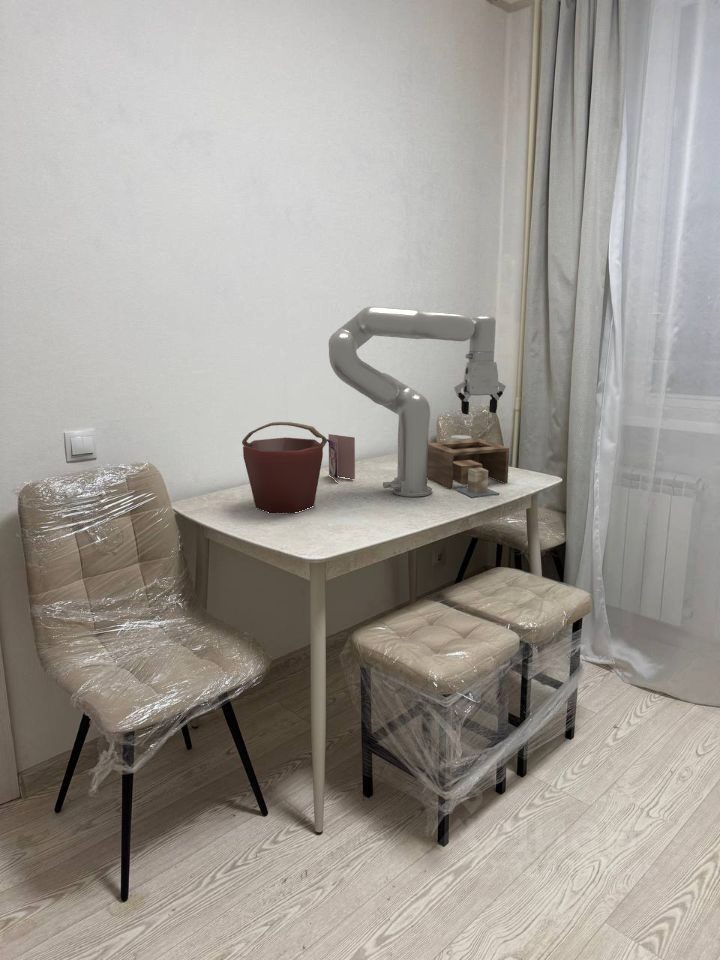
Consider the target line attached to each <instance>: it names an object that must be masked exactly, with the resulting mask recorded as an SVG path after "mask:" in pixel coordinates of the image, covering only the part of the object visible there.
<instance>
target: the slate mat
mask: <svg viewBox="0 0 720 960" xmlns="http://www.w3.org/2000/svg"><path fill="white" fill-rule="evenodd" d="M455 491H456V492H458V493H460V494H462V495H465V496H466V497H469V498H470V499H475V498H483V497H484V498H485V497H492V496H493V495H494V496H499V495H500V492H497V491H495V490H492V489H490V488H488V487H487V492H483V493H473V492H471V491H468V487H461V488H455Z"/></svg>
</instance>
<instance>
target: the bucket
mask: <svg viewBox="0 0 720 960" xmlns="http://www.w3.org/2000/svg"><path fill="white" fill-rule="evenodd" d="M272 426H274V427H275V426H290V427H296V428H299V429H302V430H303V429H304V430H308V431H309V432H310V433H311V434H312V435H313V436H314V437H315V438H318V439H321V442H318V441H317V440H316V439H313V438H311V439H310V438H299V437H298V438H296V437H287V436H286V437H276V438H266V439H265V438H264V439H255V440H253V441H251V442H248V440H249V438H251V436H252V435H254V434H255V433H257V432H259V431H260V430H263V429H266V428H269V427H272ZM328 440H329V439H328ZM328 440H327V438H326V436H324V435H323V434H321V432H319V431H318V430H317V429H316V428H315V427H314V426H312V425H308V424H303V423H297V422H291V421H274V422H271V423H270V422H269V423H268V424H264V425H262V426H260V427H257V428H255V429H254V430H251V431H250V432H248V434H247V435H246V436H244V438H243V439H242V440H241V444H242V446H243V447H242V454H243V461H244V465H245V468H246V473H247V476H248V481H249V484H250V488H251V493H252V497H253V500H254V505H255V509H256V508H259V509H261V510H260V511H262V510H264V511H263V512H265V511H267V512H269V513H268V514H270V513H288V514H296V513H295V512H299V511H302V510H305V509H307V508H310V507H312V506H314V507H315V503H316V502H315V501H316V496H317V491H318V485H319V478H320V473H321V470H322V463H323V457H324V452H323V451H324V450H323V449H324V447H325V446H326V444H328ZM259 509H258V510H259ZM310 509H311V508H310ZM305 511H306V510H305ZM267 512H266V513H267ZM302 512H303V511H302ZM299 513H300V512H299Z"/></svg>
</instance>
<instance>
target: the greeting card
mask: <svg viewBox="0 0 720 960" xmlns="http://www.w3.org/2000/svg"><path fill="white" fill-rule="evenodd" d="M355 438H356V437H353V436H348V435H347V436H346V435H339V434H331V433H328V439H327V438H326V439H327V440H328V441H327V444H328V476H329V475H330V476H331V477H333V478H334V479H335V480H336V481H337V482H338V483H339V478H338V476H339V477H345V478H350V479H355V480H356V464H355V463H356V454H355V453H356V452H355V450H356V448H355V447H356V444H355V443H356V440H355ZM331 477H330V478H331ZM337 482H336V483H337Z"/></svg>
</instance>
